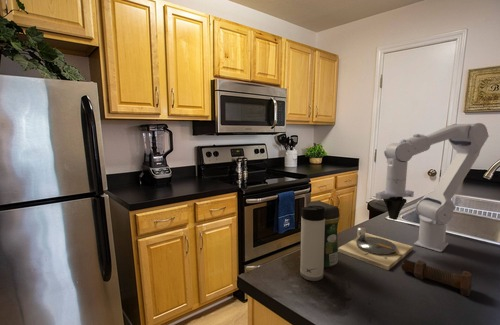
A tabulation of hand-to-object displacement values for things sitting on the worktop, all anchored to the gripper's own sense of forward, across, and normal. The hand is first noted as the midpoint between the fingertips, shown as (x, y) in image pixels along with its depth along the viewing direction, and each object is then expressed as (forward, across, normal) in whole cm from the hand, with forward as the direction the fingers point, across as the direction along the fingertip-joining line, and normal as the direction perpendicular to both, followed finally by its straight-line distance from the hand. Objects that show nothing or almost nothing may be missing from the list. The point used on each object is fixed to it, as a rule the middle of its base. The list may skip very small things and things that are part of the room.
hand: (393, 218), depth 88 cm
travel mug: (+11, -35, -6) cm, 37 cm away
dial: (+9, -7, 0) cm, 11 cm away
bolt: (+11, -6, -19) cm, 23 cm away
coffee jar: (+11, -28, 0) cm, 30 cm away
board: (+10, -6, 0) cm, 12 cm away
